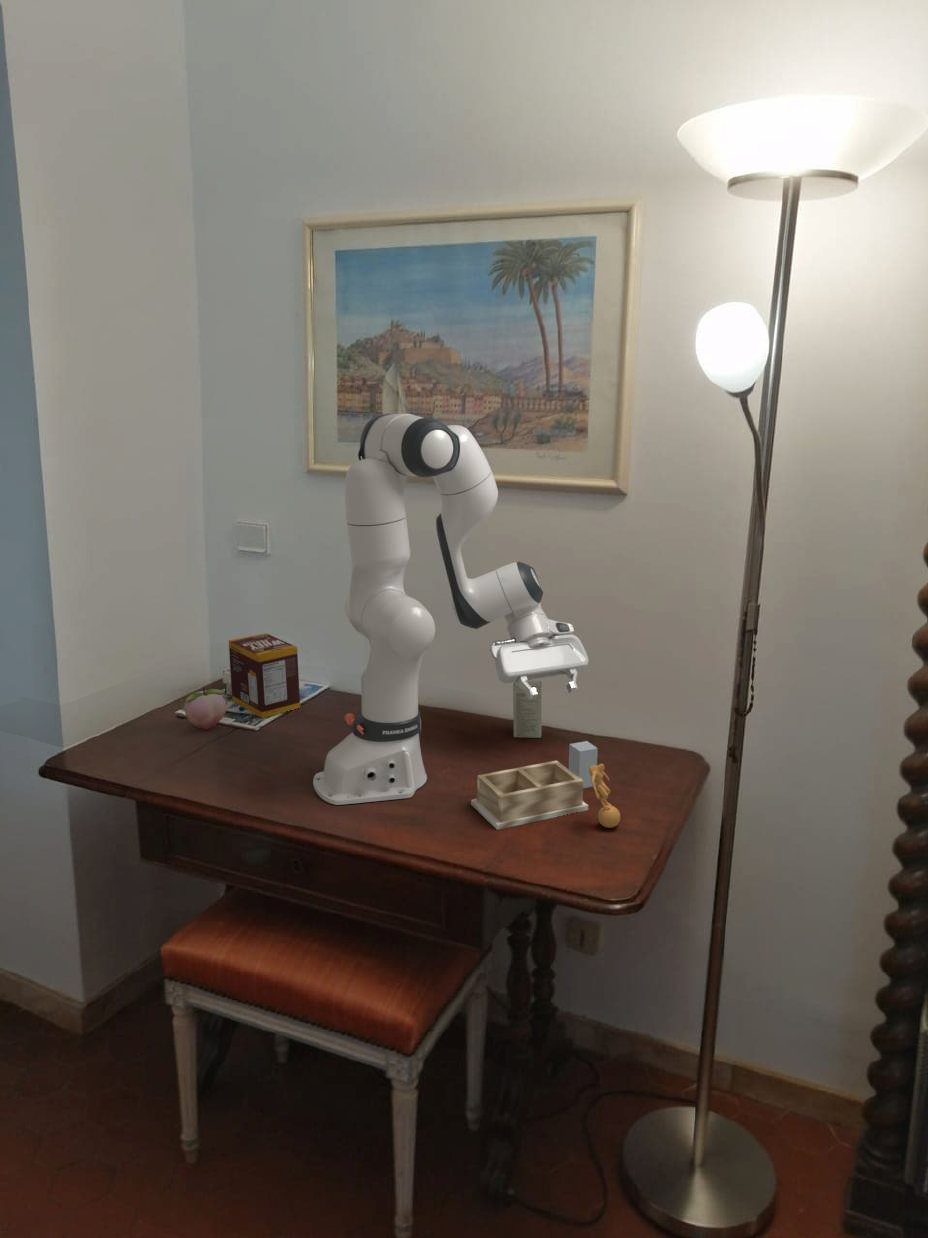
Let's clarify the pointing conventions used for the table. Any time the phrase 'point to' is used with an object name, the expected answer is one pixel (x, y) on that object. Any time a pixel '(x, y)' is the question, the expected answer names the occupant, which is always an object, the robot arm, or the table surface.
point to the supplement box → (264, 674)
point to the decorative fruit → (205, 708)
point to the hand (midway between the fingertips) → (553, 694)
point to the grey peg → (582, 760)
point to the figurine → (604, 797)
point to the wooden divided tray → (528, 794)
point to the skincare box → (527, 711)
